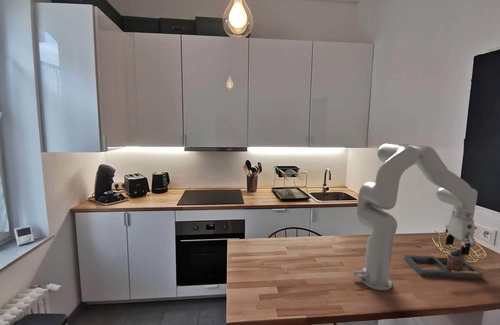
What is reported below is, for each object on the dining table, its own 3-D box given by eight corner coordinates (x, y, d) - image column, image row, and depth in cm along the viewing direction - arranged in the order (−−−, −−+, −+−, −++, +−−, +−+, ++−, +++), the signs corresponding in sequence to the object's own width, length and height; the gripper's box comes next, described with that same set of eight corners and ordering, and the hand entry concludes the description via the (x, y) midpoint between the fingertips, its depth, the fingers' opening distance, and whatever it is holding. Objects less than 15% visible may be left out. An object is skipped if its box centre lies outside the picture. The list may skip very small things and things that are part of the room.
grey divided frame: (420, 276, 116) (421, 270, 116) (404, 259, 130) (404, 254, 129) (482, 279, 114) (483, 273, 114) (459, 262, 128) (459, 257, 128)
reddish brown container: (450, 272, 119) (453, 252, 118) (443, 268, 123) (446, 248, 121) (464, 270, 121) (467, 250, 119) (457, 266, 124) (460, 247, 122)
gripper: (487, 222, 109) (480, 259, 111) (457, 208, 126) (451, 241, 128) (468, 220, 109) (462, 258, 112) (441, 207, 126) (436, 240, 129)
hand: (456, 249), depth 120 cm, fingers open, 9 cm apart
